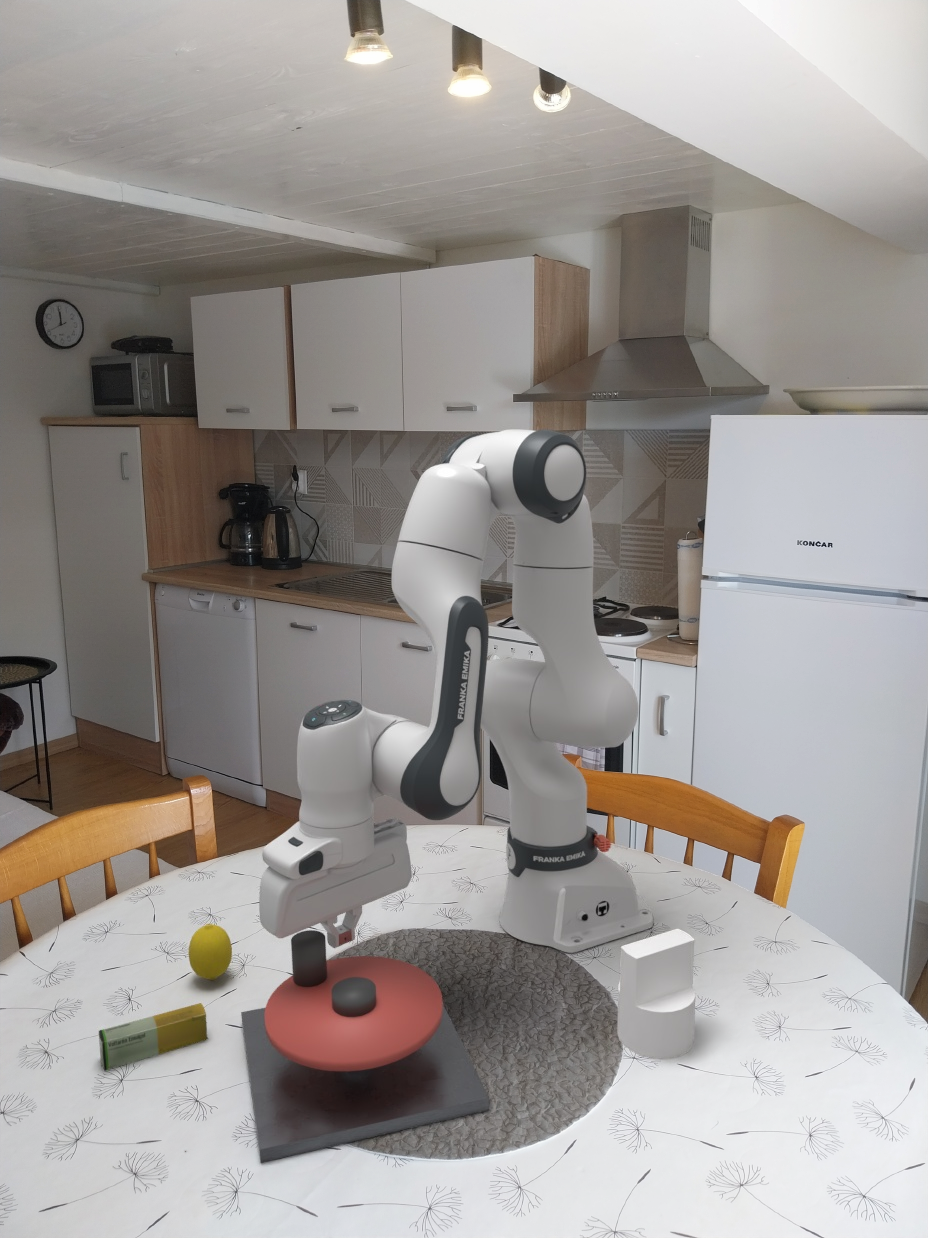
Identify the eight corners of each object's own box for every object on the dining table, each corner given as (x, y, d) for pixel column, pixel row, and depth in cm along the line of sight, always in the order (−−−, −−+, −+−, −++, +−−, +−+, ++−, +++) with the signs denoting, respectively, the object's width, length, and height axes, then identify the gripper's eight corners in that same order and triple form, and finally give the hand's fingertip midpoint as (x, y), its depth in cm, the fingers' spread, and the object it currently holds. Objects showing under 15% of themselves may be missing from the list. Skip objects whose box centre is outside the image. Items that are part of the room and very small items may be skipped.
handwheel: (478, 1009, 109) (478, 959, 108) (344, 1099, 95) (341, 1043, 93) (362, 947, 122) (361, 902, 121) (229, 1018, 108) (225, 968, 107)
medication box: (102, 1074, 109) (100, 1043, 108) (99, 1060, 111) (96, 1029, 111) (208, 1042, 115) (207, 1012, 114) (203, 1029, 117) (201, 1000, 116)
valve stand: (430, 987, 124) (429, 945, 123) (489, 1110, 102) (488, 1059, 101) (241, 1023, 118) (238, 978, 116) (260, 1163, 95) (257, 1109, 94)
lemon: (222, 993, 124) (218, 937, 122) (183, 989, 125) (178, 933, 123) (240, 970, 129) (237, 916, 128) (202, 966, 130) (198, 912, 129)
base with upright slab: (648, 1068, 108) (651, 972, 106) (602, 1025, 116) (603, 935, 114) (709, 1044, 112) (713, 951, 110) (660, 1004, 120) (663, 917, 118)
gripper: (390, 806, 124) (392, 905, 126) (249, 853, 110) (255, 963, 113) (421, 820, 119) (423, 923, 122) (278, 871, 106) (284, 985, 108)
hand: (341, 942), depth 117 cm, fingers closed
